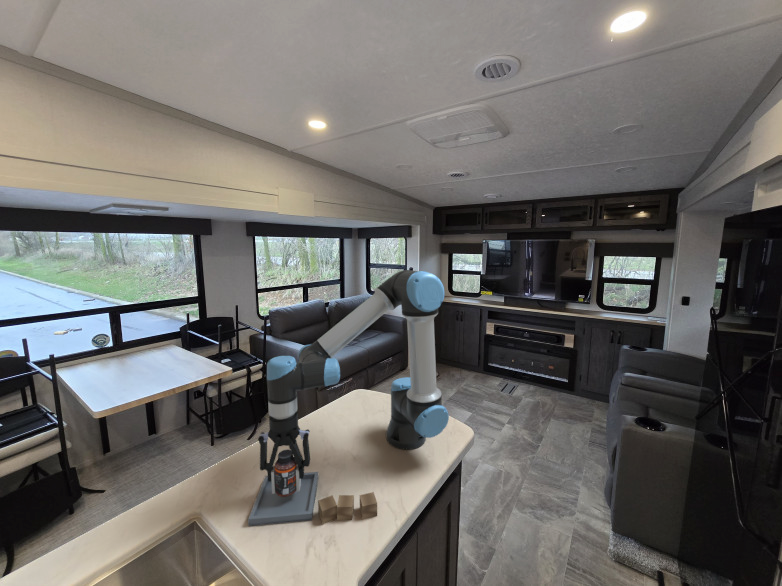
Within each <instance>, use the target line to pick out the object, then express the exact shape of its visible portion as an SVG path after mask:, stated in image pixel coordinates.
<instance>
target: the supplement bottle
mask: <svg viewBox="0 0 782 586" xmlns="http://www.w3.org/2000/svg"><path fill="white" fill-rule="evenodd" d="M274 466H275V485H276V494H277V495H278V496H280V497H287V496H290V495H292V494H293V493H294V492H295V491H296V490H297V488H296V468H297V463H296V461H295V458H294V456H293V453H292V451H291V449H283V450H281V451H279V452H278V453H277V459H276V460H275V461H274Z"/></svg>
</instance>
